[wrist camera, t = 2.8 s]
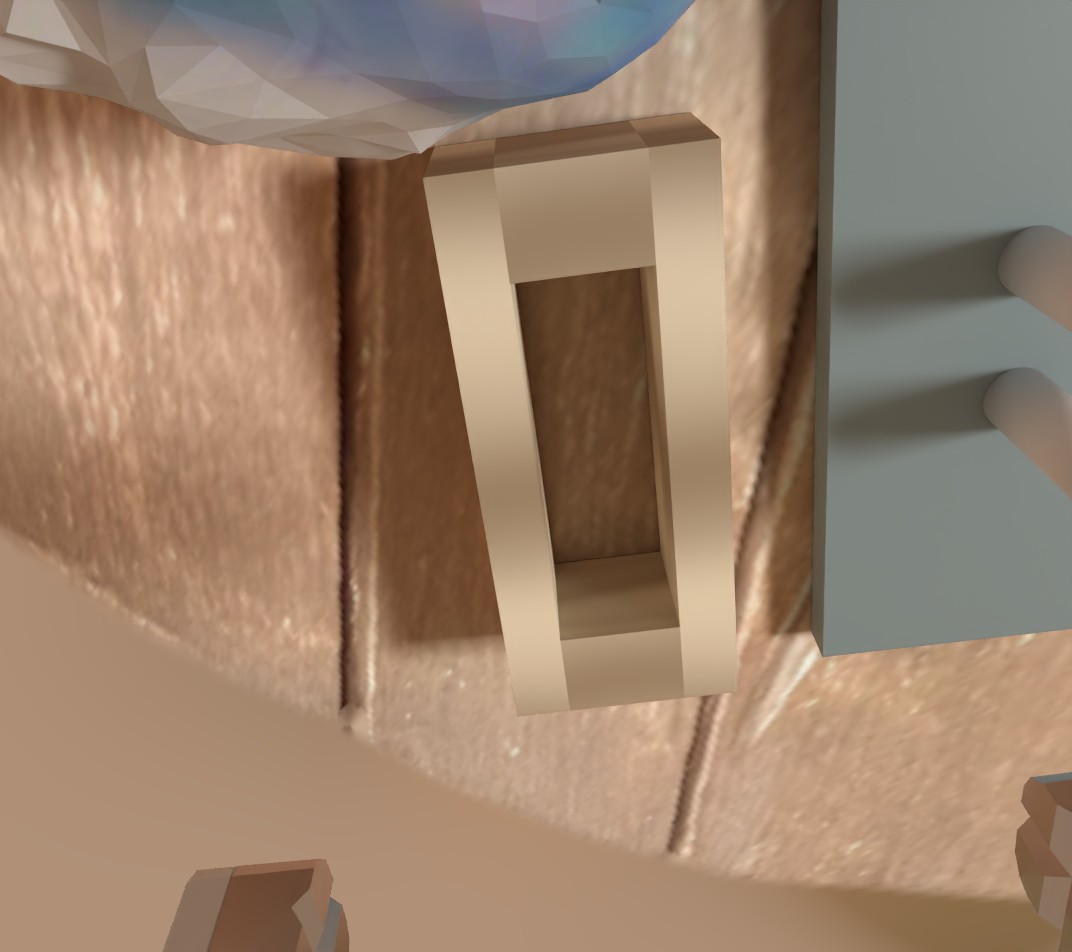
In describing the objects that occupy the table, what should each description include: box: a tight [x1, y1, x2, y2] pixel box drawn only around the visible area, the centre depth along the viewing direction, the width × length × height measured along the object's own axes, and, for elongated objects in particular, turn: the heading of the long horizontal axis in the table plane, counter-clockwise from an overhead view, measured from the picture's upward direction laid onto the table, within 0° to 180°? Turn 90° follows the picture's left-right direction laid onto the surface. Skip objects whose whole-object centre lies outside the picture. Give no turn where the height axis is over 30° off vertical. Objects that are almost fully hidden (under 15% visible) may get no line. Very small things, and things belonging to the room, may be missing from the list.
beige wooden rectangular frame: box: [423, 113, 738, 716], centre depth 20 cm, size 12×5×3 cm, turn 7°
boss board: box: [812, 0, 1072, 657], centre depth 19 cm, size 16×8×4 cm, turn 7°
